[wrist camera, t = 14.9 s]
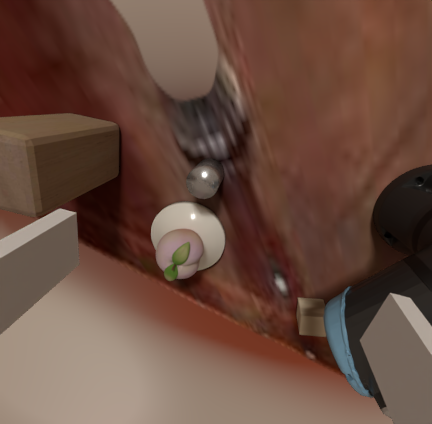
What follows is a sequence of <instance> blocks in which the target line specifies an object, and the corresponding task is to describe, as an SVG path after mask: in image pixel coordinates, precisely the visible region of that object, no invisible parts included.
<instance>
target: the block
mask: <svg viewBox="0 0 432 424" xmlns="http://www.w3.org/2000/svg"><path fill="white" fill-rule="evenodd" d="M118 173H119V126H118V125H117V124H115V123H114V122H109V121H105V120H100V119H95V118H91V117H86V116H81V115H76V114H72V113H67V114H50V115H33V116H17V117H0V209H2V210H6V211H10V212H14V213H18V214H22V215H26V216H30V217H36V216H41V215H43V214H45V213H47V212H49V211H51V210H53V209H55V208H57V207H59V206H61V205H63V204H65V203H67V202H69V201H71V200H72V199H74V198H76V197H78V196H80V195H82V194H84V193H86V192H88V191H90V190H92V189H94V188H96V187H98V186H100V185H102V184H104V183H106V182H107V181H109V180H111V179H113V178H115V177H117V176H118Z"/></svg>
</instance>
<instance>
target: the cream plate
mask: <svg viewBox="0 0 432 424" xmlns="http://www.w3.org/2000/svg"><path fill="white" fill-rule="evenodd" d="M175 229H190V230H193V231H195V232H196V233H197V234H198V235H199V236H200V237H201V239H202V241H203V245H204V252H203V255H202V257H201V258H200V263H199V267H198V270H203V269H206V268H208V267H210V266H212V265H213V264H215V263H216V262H217V261H218V260H219V258H220V257H221V255H222V253H223V250H224V246H225V241H226V236H225V230H224V227H223V225H222V223H221V221H220V219H219V218H218V217H217V216H216V215H215V214H214V213H213V212H212V211H211V210H210V209H208V208H207V207H205V206H203V205H201V204H198V203H195V202H189V201H181V202H176V203H173V204H170V205H168V206H166V207H165V208H164V209H163V210H162V211H161V212H160V213H159V214H158V215H157V216H156V218H155V219H154V221H153V224H152V228H151V238H152V242H153V245H154V247H155V249H156V250H157V246H158V243H159V241H160V239H161V238H162V237H163V236H164V235H165V234H166V233H168V232H170V231H172V230H175Z"/></svg>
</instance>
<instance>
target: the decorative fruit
mask: <svg viewBox="0 0 432 424" xmlns="http://www.w3.org/2000/svg"><path fill="white" fill-rule="evenodd" d="M203 252H204V245H203V241H202V239H201V237H200V236H199V235H198V234H197V233H196V232H195V231H193V230H190V229H175V230H172V231H170V232H168V233H166V234H165V235H164V236H163V237H162V238H161V239H160V241H159V243H158V246H157V250H156V260H157V263H158V265H159V267H160V268H161V269H162V270H163V271H164V276H165V278H166V279H167V280H168V281H172V280H175V279H186V278H189V277H191V276H192V275H194V274H195V273H196V271H197V270H198V267H199V263H200V258H201V257H202V255H203Z"/></svg>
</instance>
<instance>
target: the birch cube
mask: <svg viewBox="0 0 432 424" xmlns="http://www.w3.org/2000/svg"><path fill="white" fill-rule="evenodd" d="M324 309H325V303H324V300H323V299H311V298H298V304H297V322H298V328H299V335H309V336H320V337H326V332H325V328H324V321H323V315H324Z"/></svg>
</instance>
